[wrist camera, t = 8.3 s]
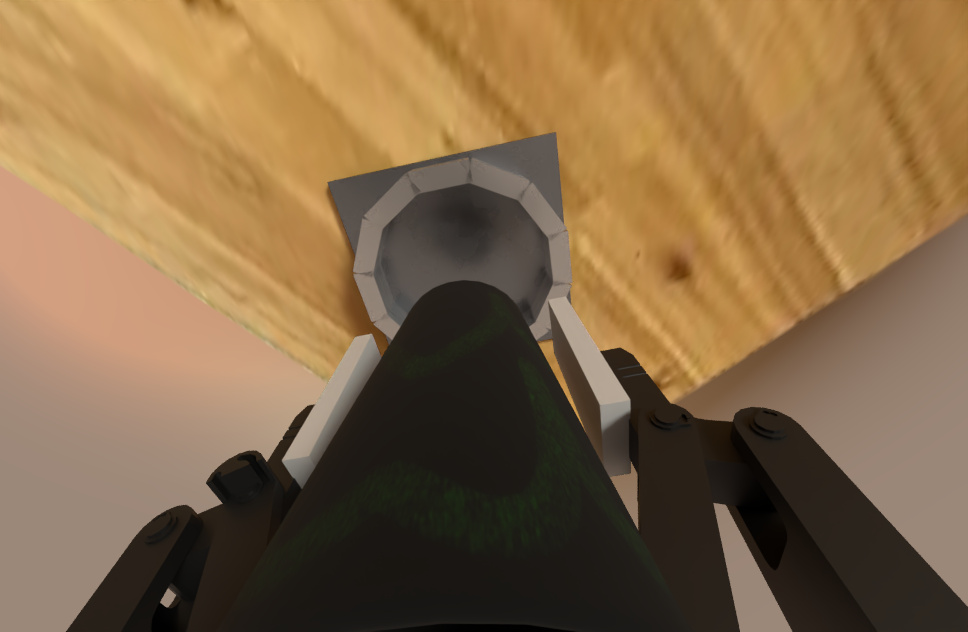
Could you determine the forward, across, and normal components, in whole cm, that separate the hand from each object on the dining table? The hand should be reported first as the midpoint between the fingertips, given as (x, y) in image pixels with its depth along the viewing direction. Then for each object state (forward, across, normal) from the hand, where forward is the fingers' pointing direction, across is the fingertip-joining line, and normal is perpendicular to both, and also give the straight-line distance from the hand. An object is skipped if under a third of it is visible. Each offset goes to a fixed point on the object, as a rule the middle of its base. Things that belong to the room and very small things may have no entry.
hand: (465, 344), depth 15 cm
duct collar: (+10, 0, 0) cm, 10 cm away
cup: (+1, 0, 0) cm, 1 cm away
